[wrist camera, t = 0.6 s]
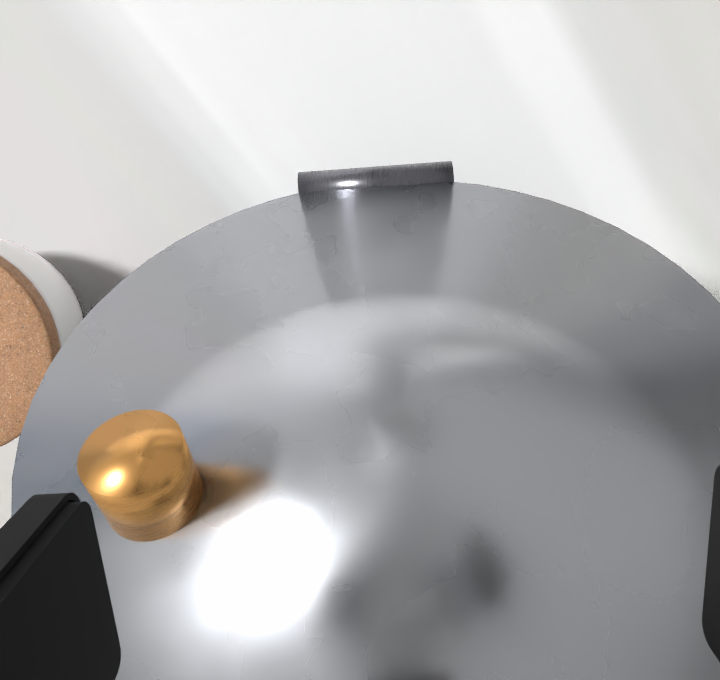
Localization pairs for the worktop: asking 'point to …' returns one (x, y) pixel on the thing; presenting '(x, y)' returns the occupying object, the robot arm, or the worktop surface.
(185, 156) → the worktop surface
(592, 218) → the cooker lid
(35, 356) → the lidded jar
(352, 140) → the worktop surface
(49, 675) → the robot arm
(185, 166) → the worktop surface
